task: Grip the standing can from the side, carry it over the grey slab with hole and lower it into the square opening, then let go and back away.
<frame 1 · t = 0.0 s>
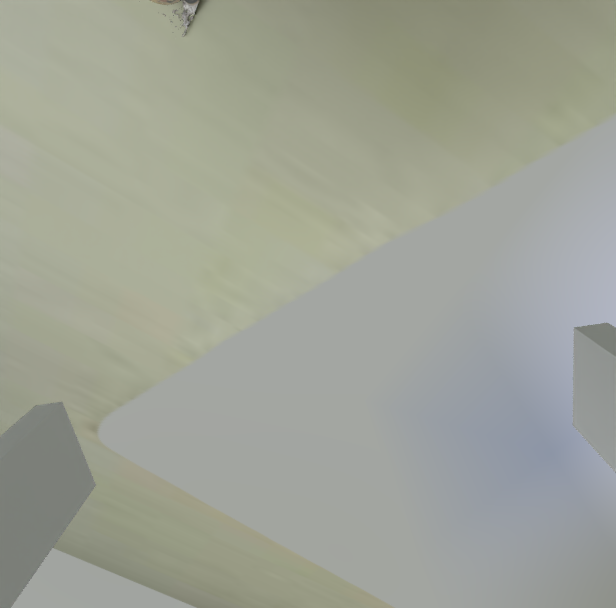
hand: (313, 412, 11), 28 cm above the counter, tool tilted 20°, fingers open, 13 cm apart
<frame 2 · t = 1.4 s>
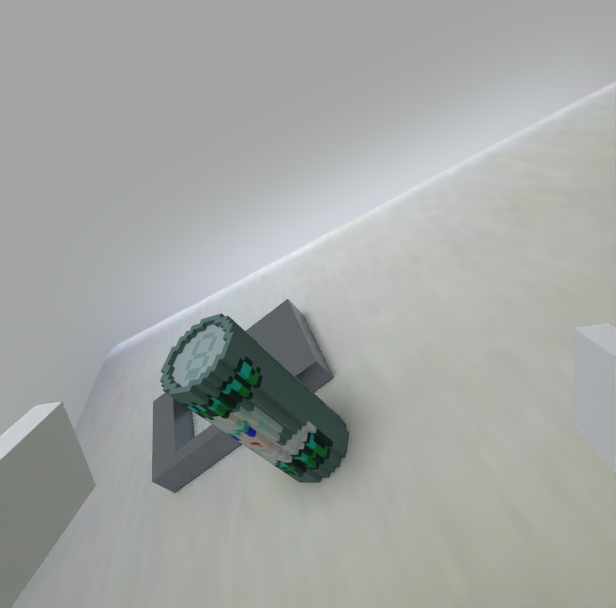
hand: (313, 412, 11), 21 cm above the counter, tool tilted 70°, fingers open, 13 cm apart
can: (317, 447, 38), on the counter
grey slab with hole: (243, 397, 48), on the counter
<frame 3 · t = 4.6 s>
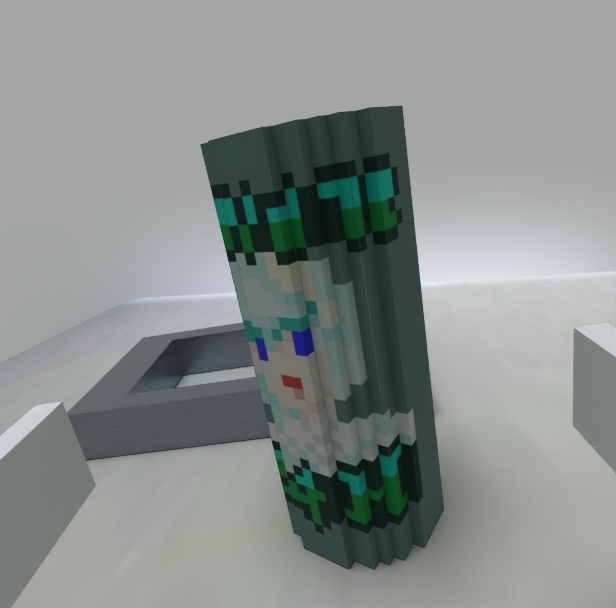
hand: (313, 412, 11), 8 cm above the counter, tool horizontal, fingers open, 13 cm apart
can: (365, 506, 19), on the counter
grey slab with hole: (263, 389, 30), on the counter
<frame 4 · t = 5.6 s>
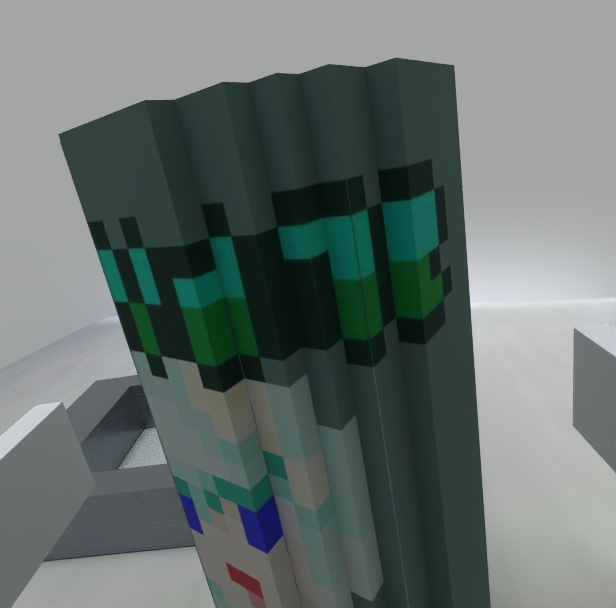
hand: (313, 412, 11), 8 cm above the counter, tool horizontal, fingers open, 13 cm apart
grey slab with hole: (239, 456, 23), on the counter
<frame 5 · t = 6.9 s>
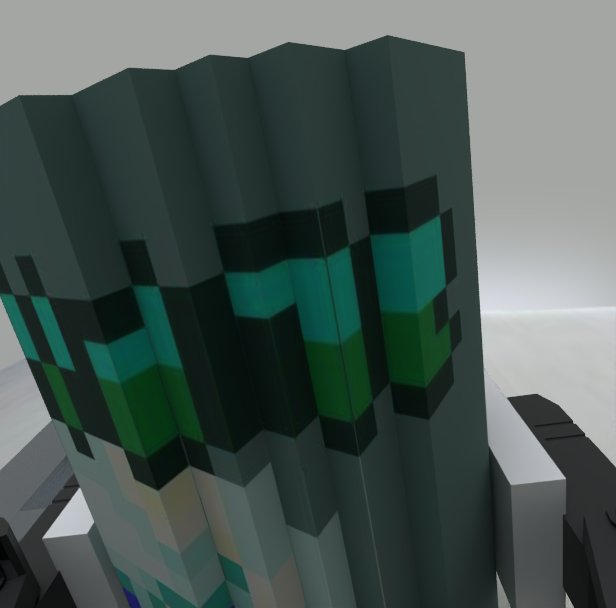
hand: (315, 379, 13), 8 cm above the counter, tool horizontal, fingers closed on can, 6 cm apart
grey slab with hole: (225, 481, 22), on the counter
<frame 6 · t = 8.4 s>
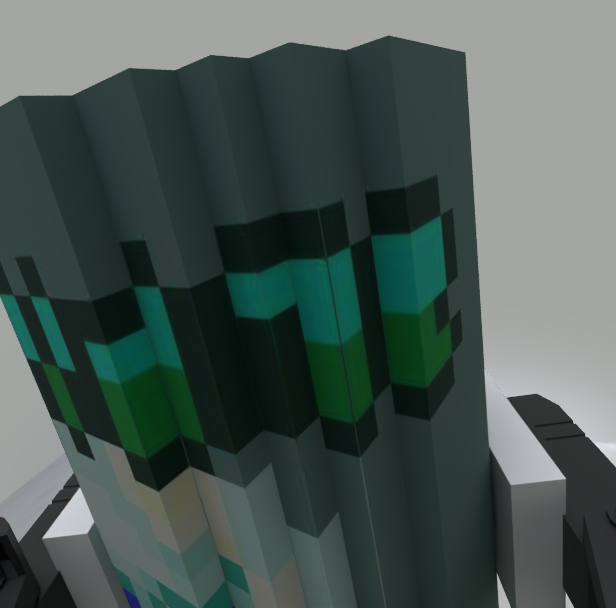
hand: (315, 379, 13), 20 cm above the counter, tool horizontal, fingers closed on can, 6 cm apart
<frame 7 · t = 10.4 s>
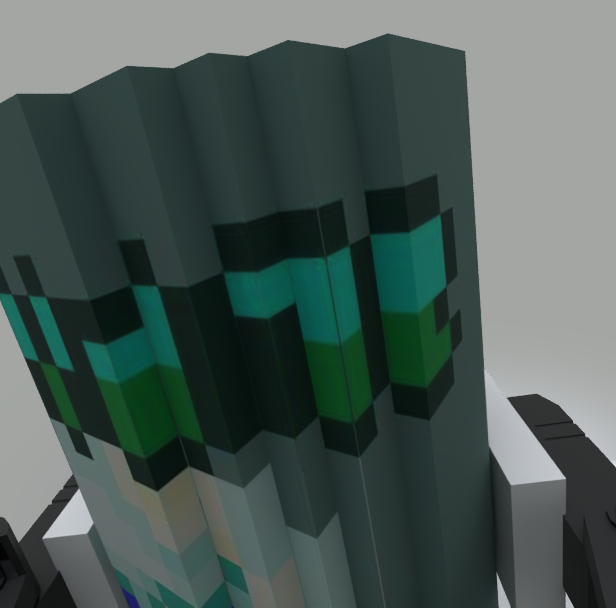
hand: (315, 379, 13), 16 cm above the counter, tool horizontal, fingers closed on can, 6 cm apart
when the fingers open (9 cm above the counter, at t = 12.1 s): can drops 1 cm, resting in grey slab with hole.
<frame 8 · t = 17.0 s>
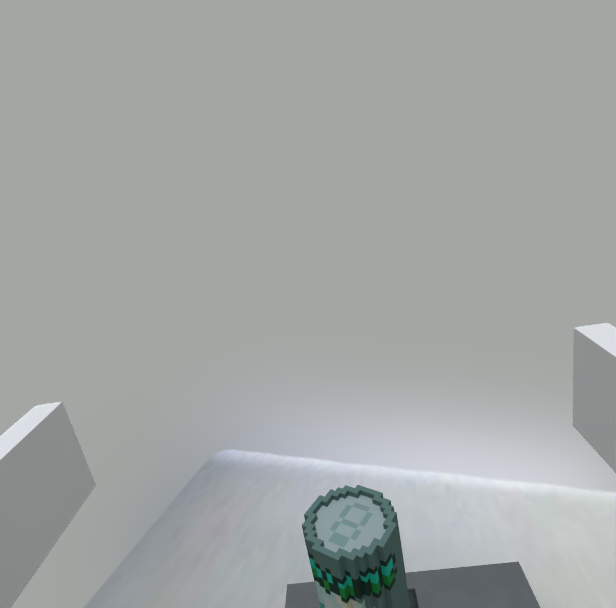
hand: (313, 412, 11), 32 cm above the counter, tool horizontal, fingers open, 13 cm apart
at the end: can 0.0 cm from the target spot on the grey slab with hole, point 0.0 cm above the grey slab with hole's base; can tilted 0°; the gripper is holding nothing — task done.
